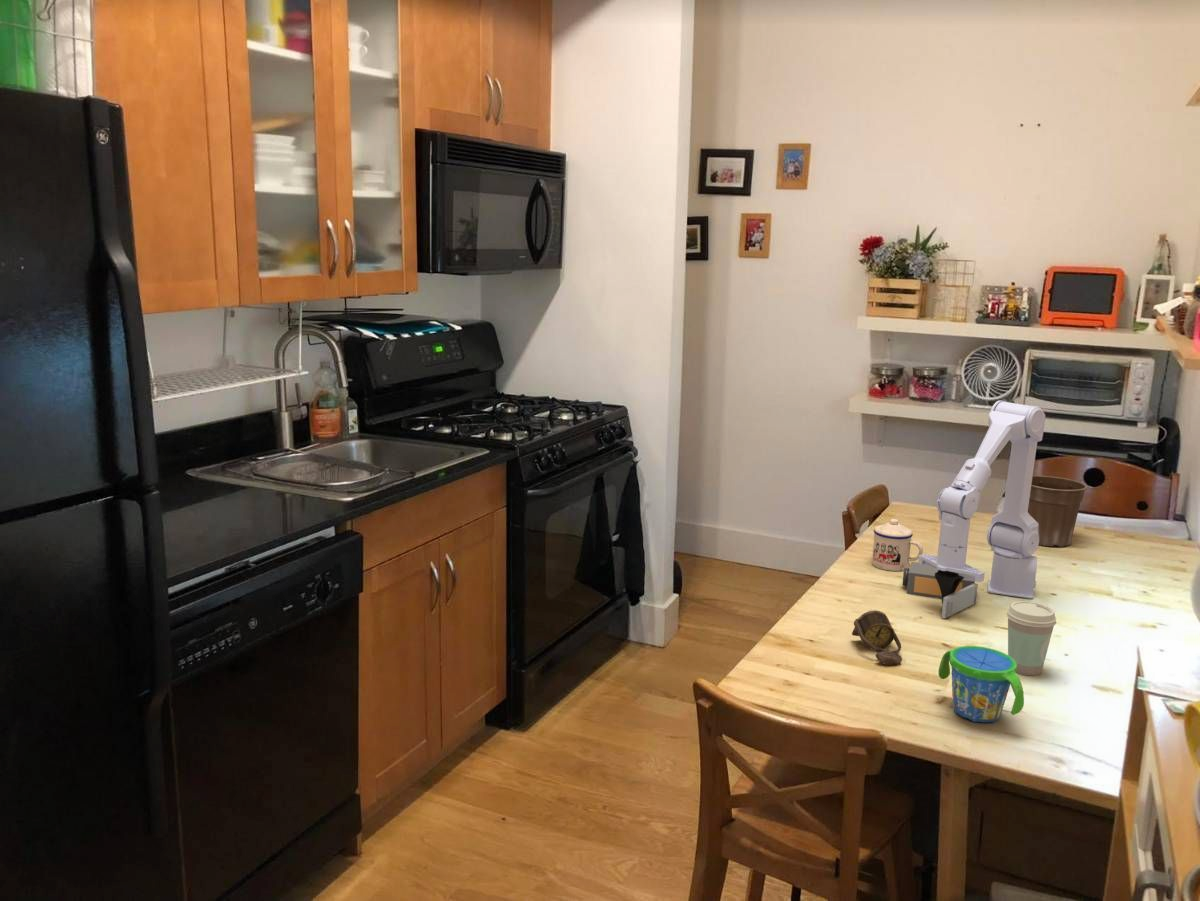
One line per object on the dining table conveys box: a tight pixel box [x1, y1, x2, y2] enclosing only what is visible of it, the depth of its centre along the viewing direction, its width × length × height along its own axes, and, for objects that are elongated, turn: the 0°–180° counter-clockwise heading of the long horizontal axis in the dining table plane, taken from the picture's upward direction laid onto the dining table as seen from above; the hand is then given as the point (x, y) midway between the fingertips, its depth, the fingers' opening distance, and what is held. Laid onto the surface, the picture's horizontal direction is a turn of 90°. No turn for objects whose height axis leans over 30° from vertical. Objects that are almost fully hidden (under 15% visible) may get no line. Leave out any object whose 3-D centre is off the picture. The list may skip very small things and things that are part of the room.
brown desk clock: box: [851, 610, 903, 666], centre depth 191 cm, size 7×13×10 cm
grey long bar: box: [941, 582, 979, 619], centre depth 213 cm, size 14×2×4 cm, turn 133°
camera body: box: [902, 561, 976, 600], centre depth 224 cm, size 15×8×6 cm, turn 68°
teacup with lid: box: [871, 518, 924, 572], centre depth 240 cm, size 12×9×12 cm
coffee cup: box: [1005, 600, 1057, 676], centre depth 184 cm, size 8×8×12 cm
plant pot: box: [1028, 475, 1088, 548], centre depth 263 cm, size 16×16×16 cm
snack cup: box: [938, 645, 1025, 723], centre depth 166 cm, size 16×10×10 cm
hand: (946, 604), depth 212 cm, fingers closed
